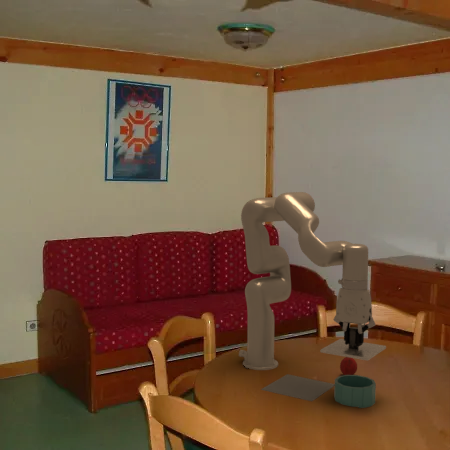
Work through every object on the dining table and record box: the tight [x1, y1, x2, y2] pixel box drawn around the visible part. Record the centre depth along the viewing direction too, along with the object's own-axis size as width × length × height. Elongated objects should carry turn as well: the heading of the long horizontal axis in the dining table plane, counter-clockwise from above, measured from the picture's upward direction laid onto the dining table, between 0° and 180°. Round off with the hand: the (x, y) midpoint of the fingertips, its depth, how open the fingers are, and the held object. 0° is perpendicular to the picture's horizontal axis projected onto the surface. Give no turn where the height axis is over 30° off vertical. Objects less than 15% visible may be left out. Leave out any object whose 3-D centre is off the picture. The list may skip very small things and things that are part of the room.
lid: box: [319, 326, 387, 362], centre depth 198 cm, size 15×15×7 cm
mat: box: [260, 373, 335, 402], centre depth 210 cm, size 18×18×1 cm
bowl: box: [333, 374, 377, 409], centre depth 199 cm, size 12×12×6 cm
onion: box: [339, 357, 358, 376], centre depth 221 cm, size 6×6×8 cm
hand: (353, 344), depth 198 cm, fingers closed on lid, 3 cm apart
